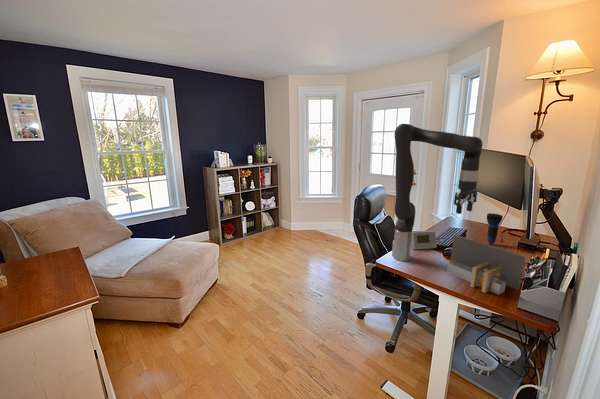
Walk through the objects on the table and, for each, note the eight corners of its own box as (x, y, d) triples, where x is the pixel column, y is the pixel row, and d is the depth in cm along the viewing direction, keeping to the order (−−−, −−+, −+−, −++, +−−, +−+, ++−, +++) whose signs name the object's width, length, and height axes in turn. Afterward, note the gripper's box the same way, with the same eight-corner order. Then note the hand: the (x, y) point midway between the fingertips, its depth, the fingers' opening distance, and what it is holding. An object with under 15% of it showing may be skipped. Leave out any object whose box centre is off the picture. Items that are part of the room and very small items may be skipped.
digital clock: (411, 250, 163) (413, 233, 161) (407, 244, 172) (408, 229, 170) (439, 250, 162) (440, 234, 159) (433, 245, 170) (435, 229, 168)
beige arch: (470, 286, 123) (472, 267, 121) (484, 279, 128) (487, 261, 126) (473, 287, 122) (476, 268, 119) (488, 280, 127) (490, 262, 125)
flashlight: (488, 241, 175) (493, 212, 170) (500, 245, 167) (505, 215, 163) (479, 243, 172) (484, 213, 168) (491, 247, 165) (496, 217, 160)
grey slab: (446, 271, 136) (447, 262, 135) (452, 269, 139) (454, 260, 138) (498, 295, 116) (500, 284, 114) (504, 291, 118) (506, 281, 117)
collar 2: (481, 291, 118) (484, 272, 116) (496, 284, 124) (499, 265, 122) (485, 292, 117) (488, 273, 115) (499, 285, 123) (502, 267, 120)
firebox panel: (450, 261, 147) (453, 234, 143) (451, 261, 147) (455, 234, 144) (517, 289, 119) (524, 257, 116) (519, 289, 120) (525, 256, 116)
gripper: (469, 177, 132) (464, 208, 136) (451, 179, 126) (447, 212, 129) (485, 179, 126) (480, 212, 129) (467, 181, 119) (462, 216, 123)
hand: (463, 212), depth 129 cm, fingers open, 8 cm apart
